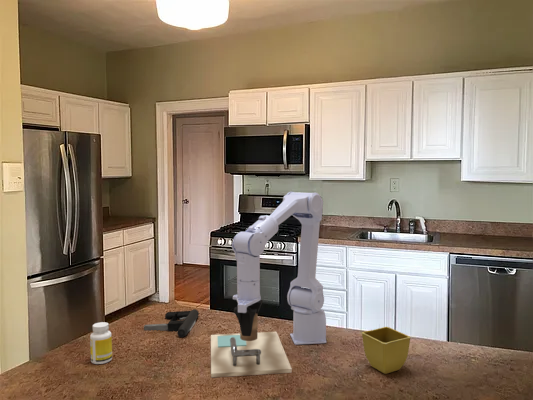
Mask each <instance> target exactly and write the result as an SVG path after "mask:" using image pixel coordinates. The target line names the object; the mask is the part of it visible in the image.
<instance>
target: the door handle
mask: <svg viewBox="0 0 533 400" xmlns="http://www.w3.org/2000/svg"><path fill="white" fill-rule="evenodd" d="M200 314H201V313H199V311H198V309H195V308H194V309H191V310H182V311H181V310H179V311H178V310H176V311H168V312H166V313H165V314H164V317H165V320H169V321H168V322H167V323H154V324H153V323H151V324H150V323H149V324H145V325H144V326H143V331H151V330H153V331H154V330H157V331H158V330H160V331H167V332H173V331H175V333H176V332H177V331H178V332H177V336H178V337H179V338H184V337H185V336H187V334H188V333H190V332H191V331H192V329H193V327H194V326H195V325H196V322H197V321H196V320H197V318H198V317H199V318H200ZM158 332H159V331H158Z"/></svg>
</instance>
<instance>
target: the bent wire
mask: <svg viewBox="0 0 533 400" xmlns="http://www.w3.org/2000/svg"><path fill="white" fill-rule="evenodd" d="M230 346H231V354H232V356H233V366H236V365H237V357H243V356H256V364H257V365H259V364H260V354H261V350H260V349H250V350H237V345H236V339H235V338H234V337H232V338H231V339H230Z"/></svg>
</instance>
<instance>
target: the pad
mask: <svg viewBox="0 0 533 400" xmlns="http://www.w3.org/2000/svg"><path fill="white" fill-rule="evenodd" d="M232 337H234V338H235V339H236V345H237V346H247V345H246V341H244V340H241V339H240V335H228V336H218V348H219V347H231V346H230V339H231V338H232Z"/></svg>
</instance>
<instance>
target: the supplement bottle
mask: <svg viewBox="0 0 533 400" xmlns="http://www.w3.org/2000/svg"><path fill="white" fill-rule="evenodd" d="M109 329H110V327H109V323H108V322H105V321H104V322H103V321H101V322H95V323H94V324H92V332H91V334H90V335H89V336H90V337H89V341H90V342H89V346H90V347H89V349H90V362H91V363H92V364H95V365H103V364H107V363H109V362H110V361H112V359H113V343H112V342H113V341H112V340H113V339H112V332H111V330H109Z"/></svg>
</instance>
